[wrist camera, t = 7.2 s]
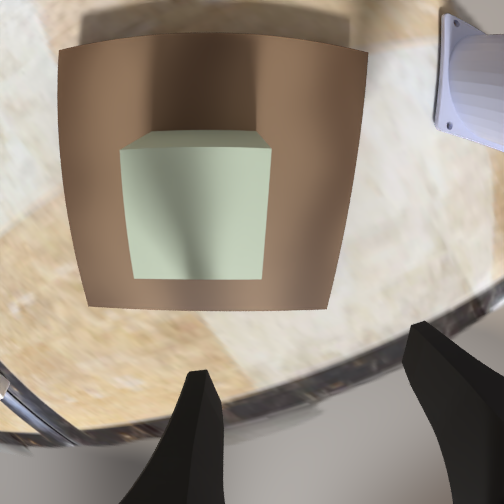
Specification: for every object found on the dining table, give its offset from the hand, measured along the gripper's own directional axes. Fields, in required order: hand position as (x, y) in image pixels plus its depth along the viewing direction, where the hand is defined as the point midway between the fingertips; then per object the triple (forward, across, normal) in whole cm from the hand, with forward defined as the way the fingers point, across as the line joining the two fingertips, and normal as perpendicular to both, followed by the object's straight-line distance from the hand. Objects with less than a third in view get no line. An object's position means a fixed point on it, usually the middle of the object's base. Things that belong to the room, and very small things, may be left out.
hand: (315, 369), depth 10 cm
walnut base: (+9, +3, -5) cm, 11 cm away
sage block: (+7, +3, -5) cm, 9 cm away
